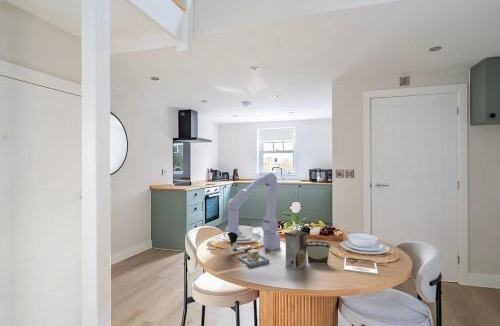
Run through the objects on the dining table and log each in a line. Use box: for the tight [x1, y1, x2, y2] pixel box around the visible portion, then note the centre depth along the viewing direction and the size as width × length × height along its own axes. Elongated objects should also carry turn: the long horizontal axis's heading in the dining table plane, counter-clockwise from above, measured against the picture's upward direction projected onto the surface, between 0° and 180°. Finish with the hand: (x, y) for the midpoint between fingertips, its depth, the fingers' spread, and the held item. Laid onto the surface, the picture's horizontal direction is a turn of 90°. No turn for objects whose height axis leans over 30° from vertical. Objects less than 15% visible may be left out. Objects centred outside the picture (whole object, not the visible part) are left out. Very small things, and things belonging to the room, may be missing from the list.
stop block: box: [246, 248, 260, 263], centre depth 145 cm, size 4×4×5 cm
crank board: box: [222, 244, 254, 256], centre depth 160 cm, size 15×13×2 cm
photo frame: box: [343, 257, 379, 275], centre depth 140 cm, size 15×1×18 cm
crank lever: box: [232, 241, 253, 251], centre depth 157 cm, size 12×3×5 cm, turn 123°
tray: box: [237, 253, 271, 269], centre depth 144 cm, size 12×12×2 cm
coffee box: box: [285, 230, 308, 271], centre depth 140 cm, size 9×6×16 cm
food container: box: [306, 240, 331, 265], centre depth 146 cm, size 12×6×10 cm, turn 84°
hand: (233, 246), depth 156 cm, fingers closed
